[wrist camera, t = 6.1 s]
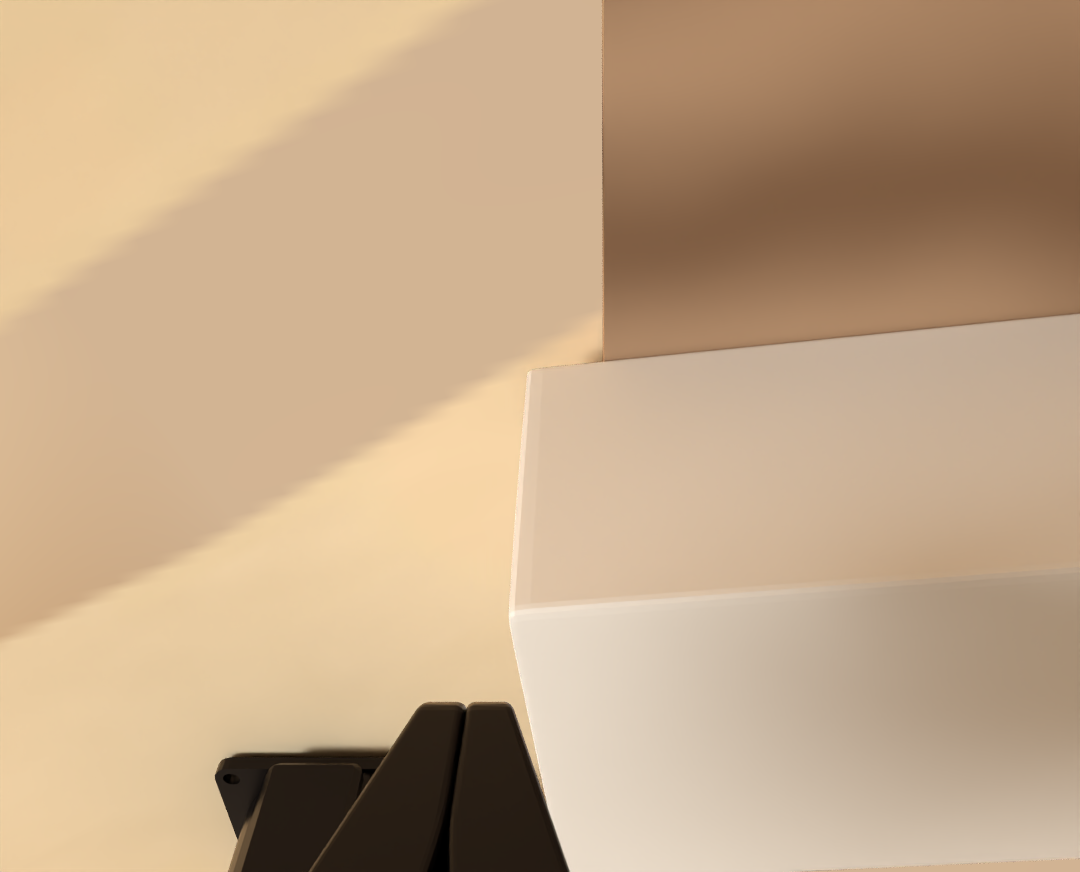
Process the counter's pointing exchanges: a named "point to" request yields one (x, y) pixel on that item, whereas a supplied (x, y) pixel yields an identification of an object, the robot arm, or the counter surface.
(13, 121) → the counter surface
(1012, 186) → the walnut board
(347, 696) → the counter surface
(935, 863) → the milk carton
